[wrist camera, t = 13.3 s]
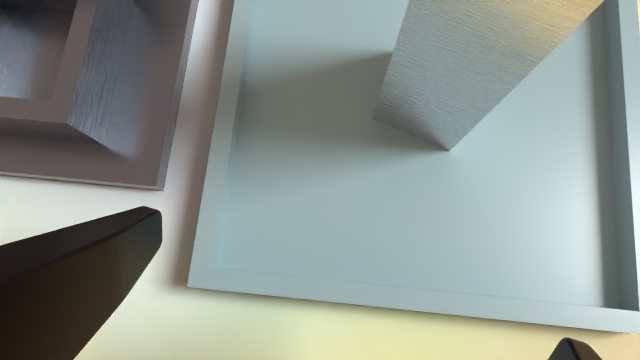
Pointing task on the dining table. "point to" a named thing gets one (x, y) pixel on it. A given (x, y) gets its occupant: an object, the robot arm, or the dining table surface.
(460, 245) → the tray
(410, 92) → the pin
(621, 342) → the dining table surface
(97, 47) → the grey socket fixture
